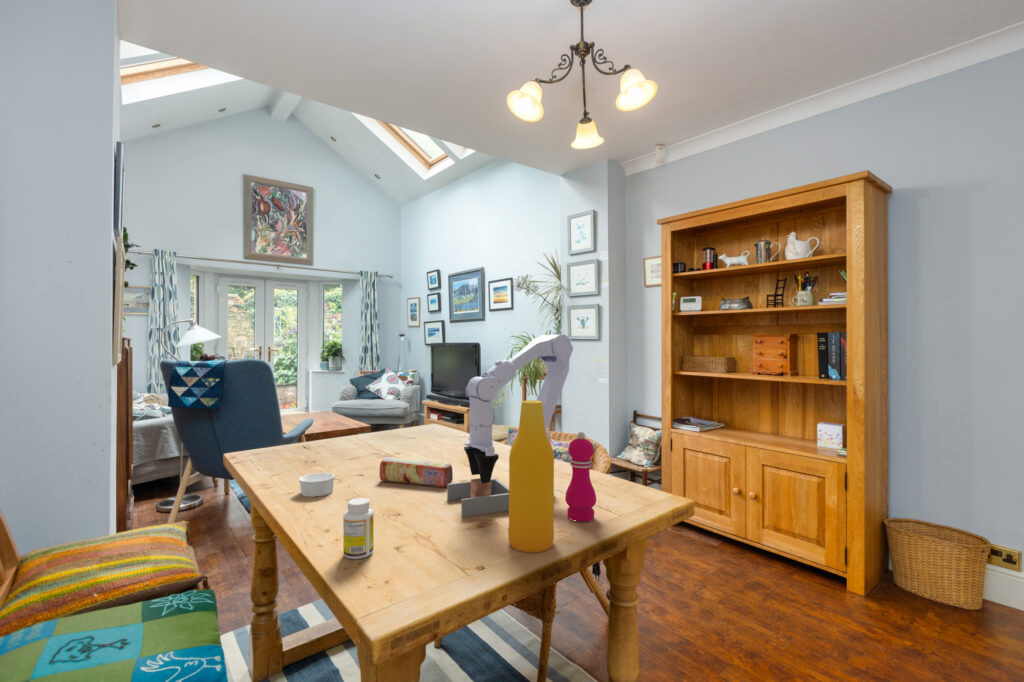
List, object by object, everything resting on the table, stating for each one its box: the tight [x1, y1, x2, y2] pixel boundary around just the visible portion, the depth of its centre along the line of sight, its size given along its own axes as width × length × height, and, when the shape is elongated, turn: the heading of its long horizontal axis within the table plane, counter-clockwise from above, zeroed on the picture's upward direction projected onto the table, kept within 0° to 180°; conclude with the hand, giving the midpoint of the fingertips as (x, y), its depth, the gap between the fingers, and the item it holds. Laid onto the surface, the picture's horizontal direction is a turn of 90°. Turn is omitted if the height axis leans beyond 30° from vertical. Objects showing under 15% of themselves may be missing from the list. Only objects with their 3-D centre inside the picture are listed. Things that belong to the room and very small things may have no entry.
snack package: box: [379, 456, 454, 488], centre depth 140 cm, size 21×7×7 cm, turn 74°
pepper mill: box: [564, 431, 597, 522], centre depth 113 cm, size 7×7×20 cm
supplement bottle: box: [342, 497, 375, 560], centre depth 93 cm, size 6×6×10 cm
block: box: [470, 477, 491, 498], centre depth 122 cm, size 4×4×6 cm
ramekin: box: [298, 472, 336, 498], centre depth 130 cm, size 9×9×4 cm
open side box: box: [446, 477, 509, 518], centre depth 122 cm, size 14×14×4 cm
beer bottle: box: [507, 399, 555, 553], centre depth 98 cm, size 9×9×29 cm
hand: (480, 478), depth 121 cm, fingers open, 7 cm apart
